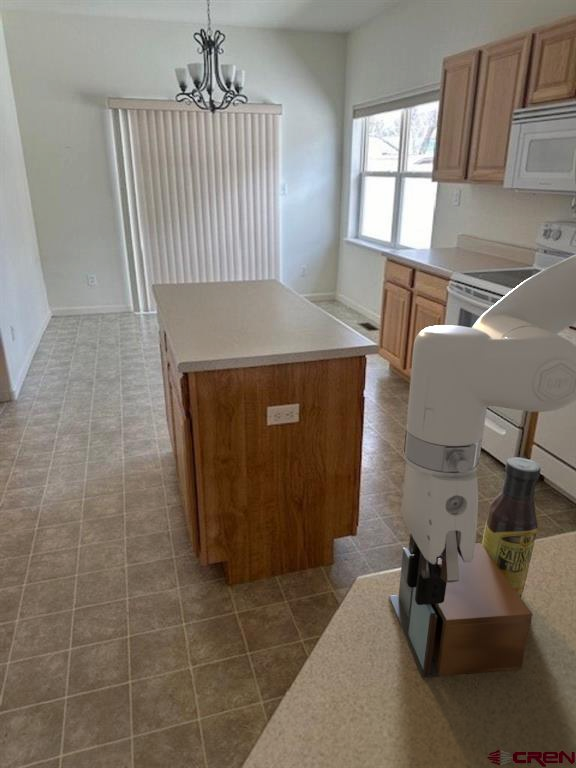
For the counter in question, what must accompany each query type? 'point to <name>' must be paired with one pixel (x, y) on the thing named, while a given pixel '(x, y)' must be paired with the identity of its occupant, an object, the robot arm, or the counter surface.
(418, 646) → the glass door
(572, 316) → the robot arm
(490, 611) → the cabinet
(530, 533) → the sauce bottle
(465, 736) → the counter surface
